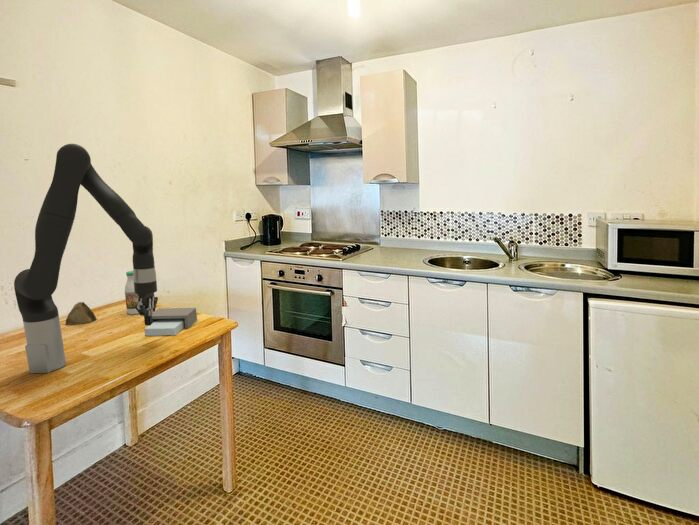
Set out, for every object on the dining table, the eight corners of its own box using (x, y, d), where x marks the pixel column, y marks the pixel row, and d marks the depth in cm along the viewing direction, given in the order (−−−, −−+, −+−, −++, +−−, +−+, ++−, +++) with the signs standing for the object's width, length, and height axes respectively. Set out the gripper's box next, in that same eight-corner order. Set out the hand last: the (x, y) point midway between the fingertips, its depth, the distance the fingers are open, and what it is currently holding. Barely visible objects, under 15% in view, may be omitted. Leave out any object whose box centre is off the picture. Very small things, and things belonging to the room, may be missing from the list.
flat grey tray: (175, 335, 158) (174, 327, 157) (145, 335, 158) (144, 328, 157) (190, 321, 174) (190, 315, 173) (163, 322, 174) (162, 315, 173)
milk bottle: (128, 311, 190) (123, 270, 186) (145, 308, 193) (141, 269, 189) (126, 315, 183) (121, 273, 179) (145, 313, 186) (140, 272, 182)
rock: (56, 321, 168) (76, 319, 167) (62, 303, 172) (82, 301, 170) (77, 329, 178) (96, 327, 176) (82, 311, 182) (101, 309, 180)
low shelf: (188, 328, 166) (187, 315, 165) (148, 329, 165) (147, 316, 164) (197, 319, 176) (196, 307, 175) (160, 320, 176) (158, 308, 175)
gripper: (146, 283, 138) (150, 330, 141) (163, 276, 152) (166, 319, 154) (124, 283, 138) (129, 330, 141) (144, 276, 151) (147, 319, 154)
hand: (148, 324), depth 148 cm, fingers closed
